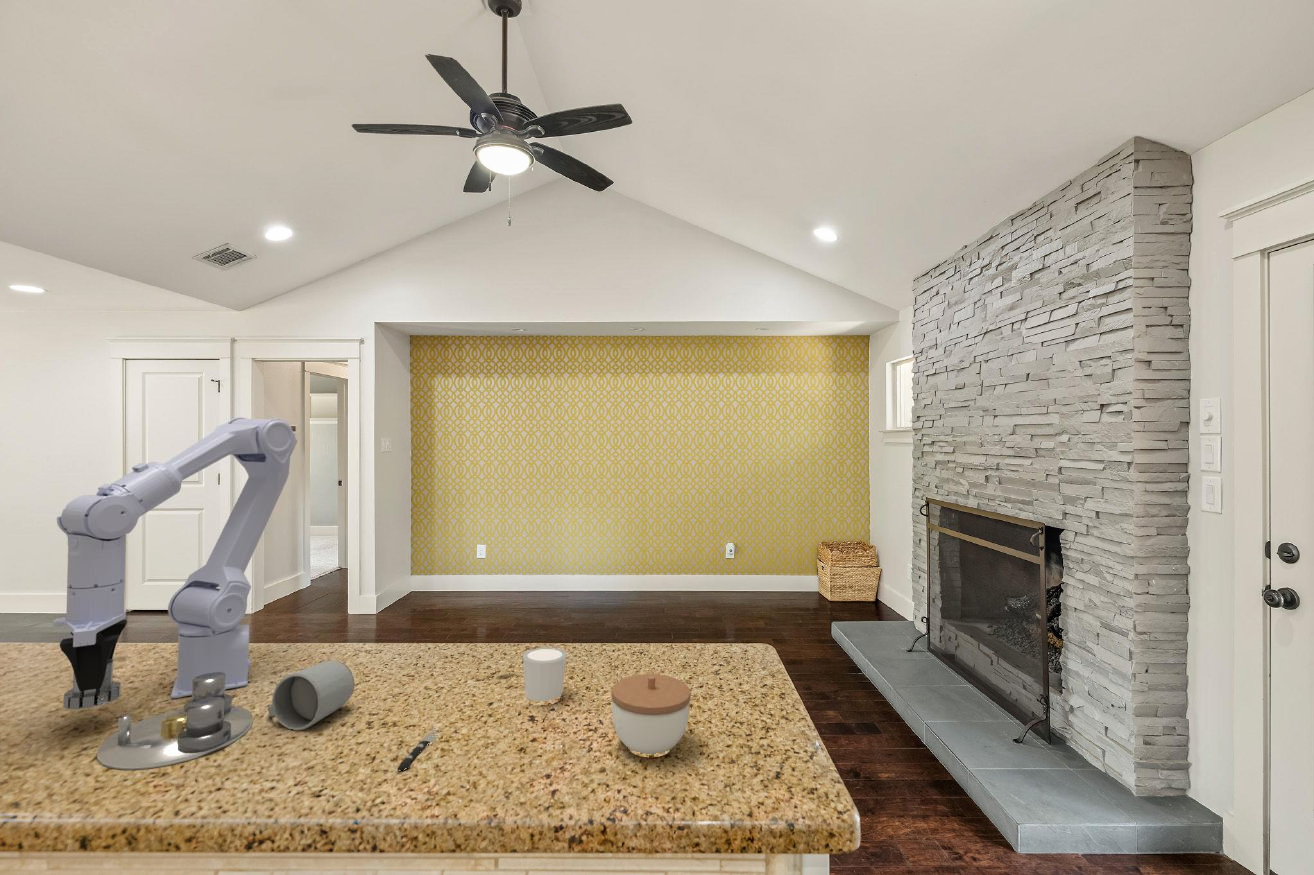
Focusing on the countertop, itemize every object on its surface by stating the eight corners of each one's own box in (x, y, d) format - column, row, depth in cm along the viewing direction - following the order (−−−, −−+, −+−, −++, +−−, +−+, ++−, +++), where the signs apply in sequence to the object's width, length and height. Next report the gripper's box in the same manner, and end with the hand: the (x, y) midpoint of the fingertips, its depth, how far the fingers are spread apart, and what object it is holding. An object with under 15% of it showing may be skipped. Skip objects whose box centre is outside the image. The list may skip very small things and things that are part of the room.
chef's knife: (476, 708, 91) (457, 705, 91) (476, 700, 91) (457, 698, 91) (418, 777, 72) (395, 774, 72) (419, 768, 72) (395, 765, 72)
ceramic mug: (358, 707, 89) (359, 656, 89) (318, 734, 81) (319, 677, 81) (295, 701, 90) (296, 651, 90) (250, 726, 82) (251, 671, 82)
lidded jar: (634, 777, 73) (637, 700, 73) (596, 738, 82) (598, 670, 82) (704, 754, 78) (707, 684, 78) (661, 721, 87) (663, 657, 87)
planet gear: (122, 688, 84) (124, 653, 84) (116, 703, 80) (117, 666, 80) (69, 697, 81) (70, 660, 81) (59, 713, 77) (60, 674, 77)
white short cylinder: (512, 702, 92) (514, 657, 92) (537, 686, 98) (538, 644, 98) (550, 711, 89) (551, 665, 89) (573, 694, 96) (574, 650, 96)
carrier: (251, 700, 90) (253, 663, 90) (253, 746, 77) (254, 703, 77) (109, 726, 81) (111, 685, 81) (84, 784, 68) (86, 735, 68)
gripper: (68, 575, 84) (66, 670, 84) (40, 600, 72) (37, 711, 72) (134, 570, 88) (131, 661, 88) (117, 593, 76) (114, 697, 76)
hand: (94, 683), depth 80 cm, fingers closed on planet gear, 4 cm apart
